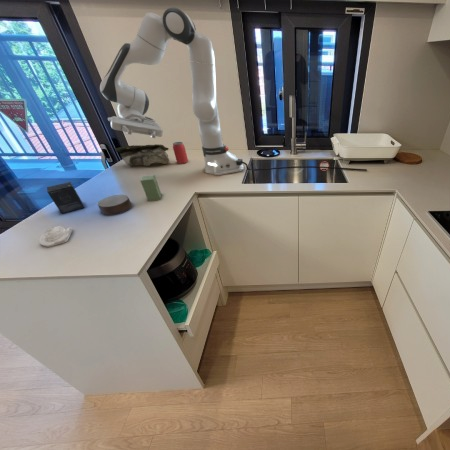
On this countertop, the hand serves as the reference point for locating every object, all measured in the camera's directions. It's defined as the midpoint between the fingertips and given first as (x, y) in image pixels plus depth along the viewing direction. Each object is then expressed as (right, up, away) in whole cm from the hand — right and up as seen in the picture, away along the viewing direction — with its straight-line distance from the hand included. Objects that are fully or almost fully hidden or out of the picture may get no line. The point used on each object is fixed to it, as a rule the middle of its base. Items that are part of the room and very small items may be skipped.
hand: (142, 134), depth 109 cm
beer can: (-3, -1, +44) cm, 44 cm away
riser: (-8, -34, -5) cm, 35 cm away
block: (+4, -28, +4) cm, 29 cm away
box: (-26, -34, -5) cm, 43 cm away
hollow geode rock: (-23, -3, +41) cm, 47 cm away
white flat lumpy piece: (-15, -46, -23) cm, 53 cm away
